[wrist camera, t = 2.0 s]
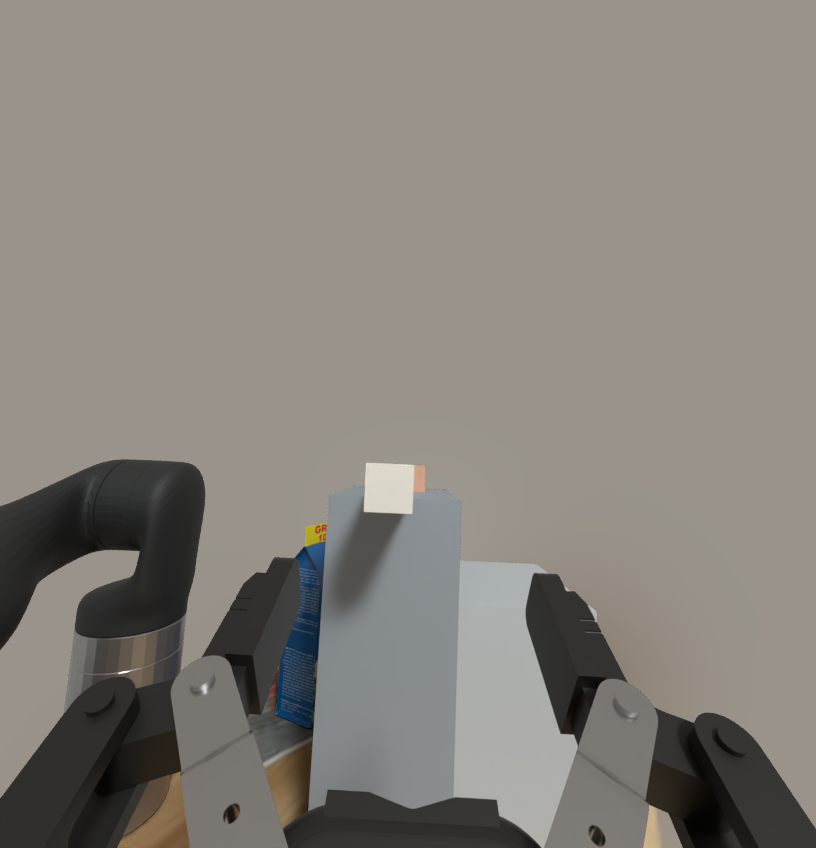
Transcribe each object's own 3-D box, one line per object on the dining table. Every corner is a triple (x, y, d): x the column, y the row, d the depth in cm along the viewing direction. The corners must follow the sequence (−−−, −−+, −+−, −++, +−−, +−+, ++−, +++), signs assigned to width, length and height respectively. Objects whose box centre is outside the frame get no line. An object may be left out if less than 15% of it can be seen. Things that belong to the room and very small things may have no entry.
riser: (339, 739, 47) (354, 485, 50) (534, 749, 47) (536, 493, 50) (303, 879, 31) (328, 494, 34) (599, 896, 31) (595, 506, 34)
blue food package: (273, 715, 51) (288, 524, 54) (328, 672, 62) (338, 515, 64) (311, 731, 48) (324, 529, 51) (361, 683, 59) (370, 519, 62)
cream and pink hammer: (375, 487, 47) (376, 463, 48) (423, 489, 47) (424, 465, 48) (339, 510, 23) (342, 461, 24) (436, 515, 23) (438, 465, 24)
